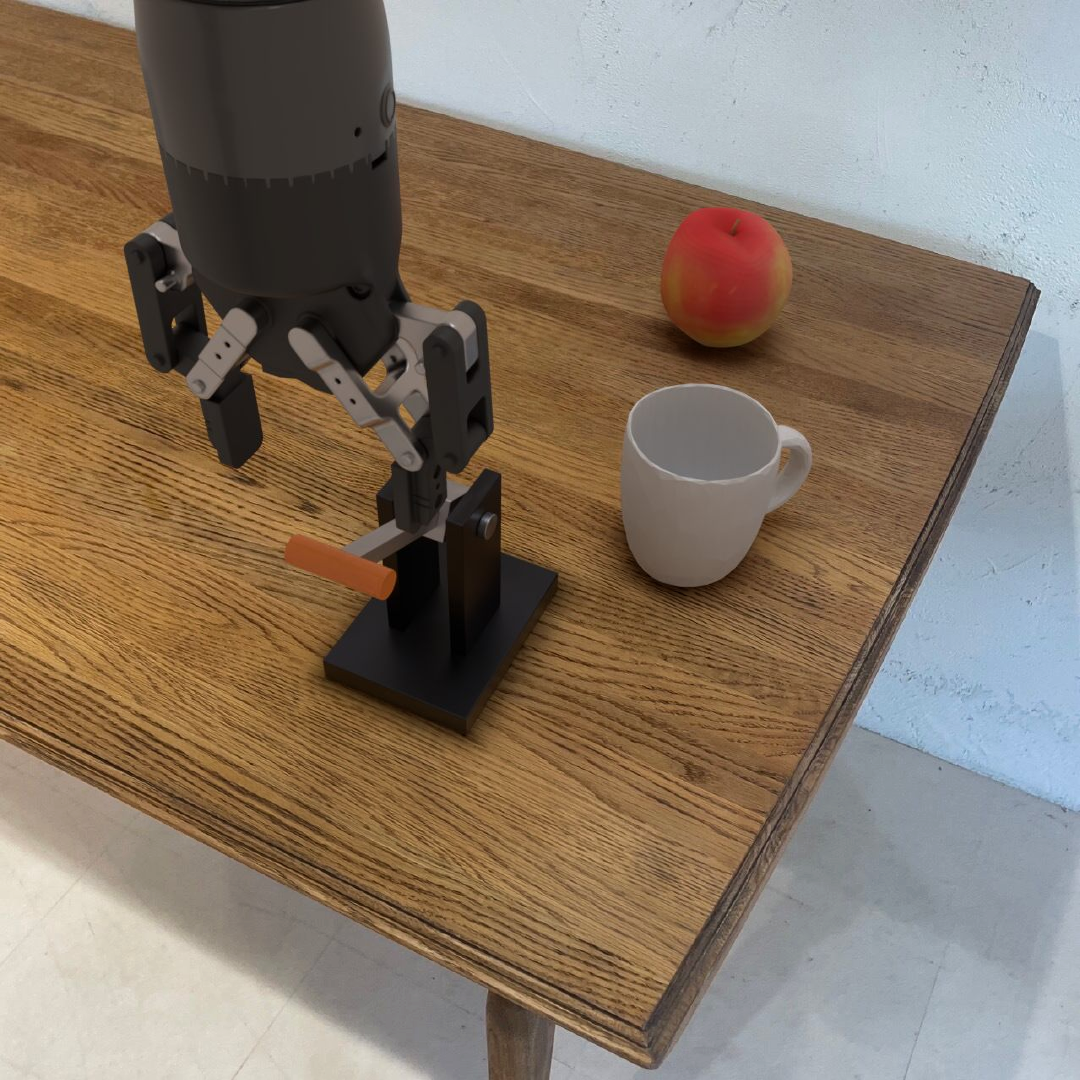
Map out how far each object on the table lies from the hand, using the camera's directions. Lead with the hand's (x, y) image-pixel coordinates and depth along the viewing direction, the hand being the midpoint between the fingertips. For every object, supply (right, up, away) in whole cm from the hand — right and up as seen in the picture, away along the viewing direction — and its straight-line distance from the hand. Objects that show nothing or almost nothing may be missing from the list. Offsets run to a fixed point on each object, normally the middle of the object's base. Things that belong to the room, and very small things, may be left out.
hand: (328, 486), depth 48 cm
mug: (+20, -3, +25) cm, 32 cm away
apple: (+22, +14, +41) cm, 49 cm away
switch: (+2, -3, +9) cm, 9 cm away
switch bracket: (+3, -8, +19) cm, 21 cm away
